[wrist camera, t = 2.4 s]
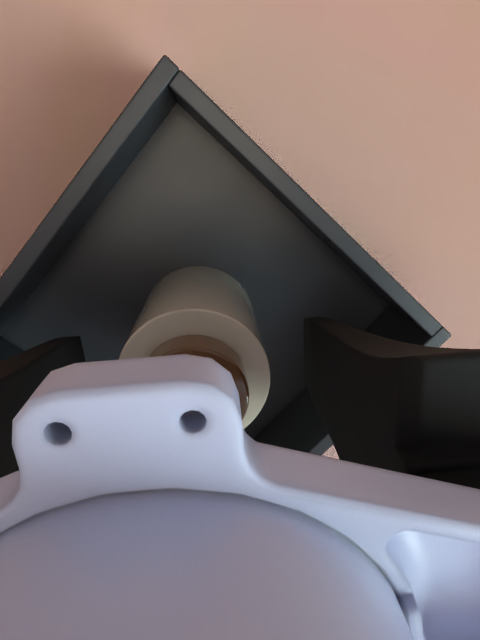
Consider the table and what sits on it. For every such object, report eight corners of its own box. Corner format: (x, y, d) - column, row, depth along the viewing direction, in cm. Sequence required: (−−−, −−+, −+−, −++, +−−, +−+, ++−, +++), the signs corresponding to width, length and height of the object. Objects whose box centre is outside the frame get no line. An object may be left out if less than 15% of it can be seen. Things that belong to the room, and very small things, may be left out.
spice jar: (276, 313, 17) (309, 389, 11) (205, 387, 18) (203, 494, 12) (191, 241, 16) (179, 286, 10) (120, 325, 17) (73, 410, 11)
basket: (402, 300, 18) (452, 335, 14) (215, 482, 20) (216, 552, 17) (176, 81, 14) (164, 53, 11) (-13, 332, 17) (-74, 379, 13)
